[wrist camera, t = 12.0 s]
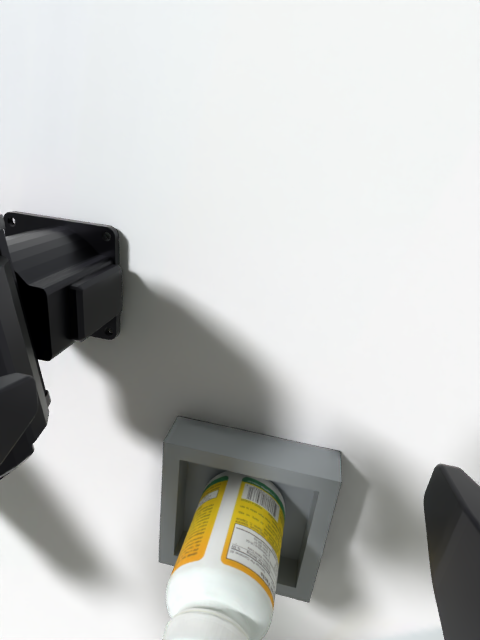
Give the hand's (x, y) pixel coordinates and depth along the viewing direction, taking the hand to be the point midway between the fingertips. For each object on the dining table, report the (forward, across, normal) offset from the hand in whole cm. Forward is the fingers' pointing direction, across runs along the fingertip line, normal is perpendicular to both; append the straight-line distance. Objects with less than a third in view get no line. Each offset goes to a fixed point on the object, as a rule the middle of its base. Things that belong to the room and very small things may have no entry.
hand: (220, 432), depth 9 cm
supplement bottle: (+13, 0, +15) cm, 20 cm away
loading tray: (+13, 0, +15) cm, 20 cm away
